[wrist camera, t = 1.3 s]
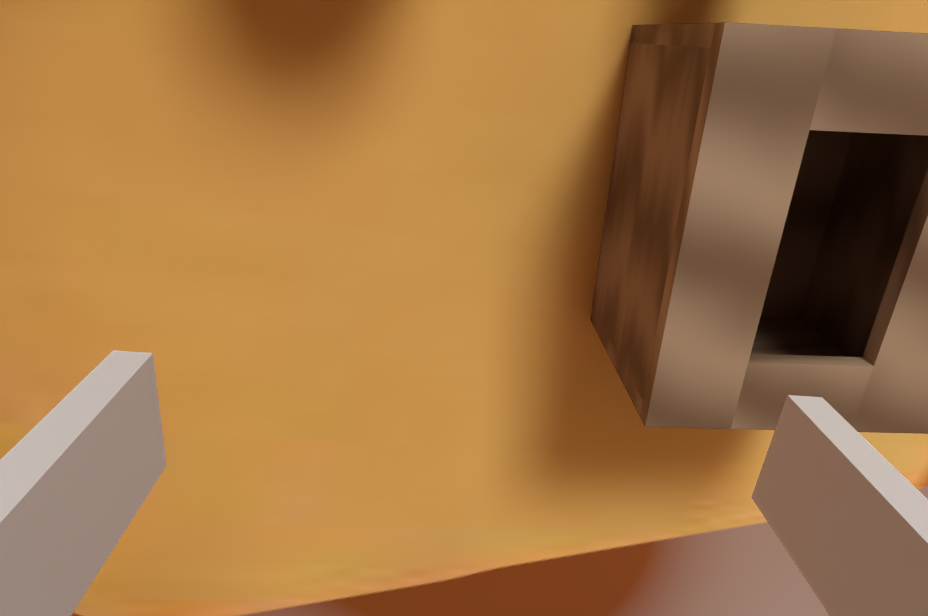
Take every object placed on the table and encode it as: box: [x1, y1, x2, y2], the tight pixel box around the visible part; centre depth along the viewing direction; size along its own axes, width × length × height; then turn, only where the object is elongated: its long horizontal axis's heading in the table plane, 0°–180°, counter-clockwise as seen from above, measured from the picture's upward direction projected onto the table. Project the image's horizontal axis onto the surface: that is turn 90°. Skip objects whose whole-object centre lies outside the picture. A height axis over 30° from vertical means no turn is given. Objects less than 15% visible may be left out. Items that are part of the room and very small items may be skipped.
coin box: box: [591, 22, 928, 434], centre depth 29 cm, size 16×13×11 cm
